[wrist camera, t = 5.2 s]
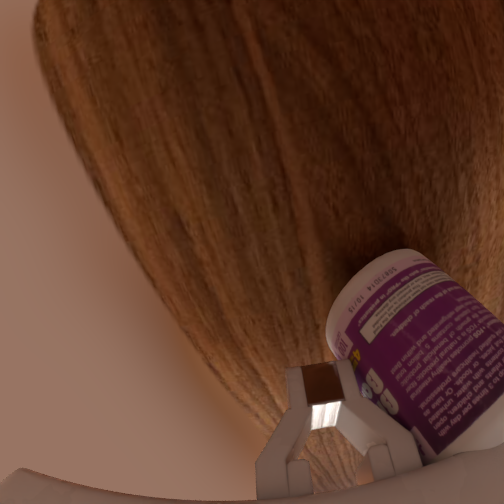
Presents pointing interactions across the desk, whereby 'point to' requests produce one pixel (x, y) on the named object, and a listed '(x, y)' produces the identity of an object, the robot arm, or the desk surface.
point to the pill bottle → (423, 353)
